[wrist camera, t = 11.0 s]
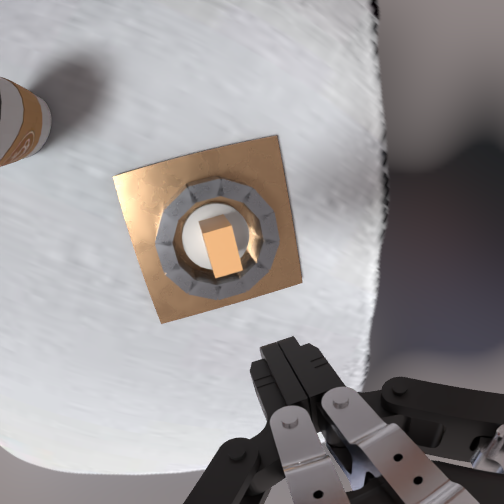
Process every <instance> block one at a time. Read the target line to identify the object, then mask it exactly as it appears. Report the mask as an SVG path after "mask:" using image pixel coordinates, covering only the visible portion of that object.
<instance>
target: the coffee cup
mask: <svg viewBox="0 0 504 504" xmlns="http://www.w3.org/2000/svg"><path fill="white" fill-rule="evenodd" d="M50 129H51V113H50V109H49V107H48V105H47V103H46V102H45V101H44V100H43V99H42V98H40V97H38V96H36V95H34V94H33V93H32V92H31V91H29V90H27V89H25V88H23V87H21V86H20V85H18V84H16V83H14V82H12V81H10V80H8V79H5V78H2V77H0V167H1V166H4V165H7V164H10V163H13V162H16V161H18V160H21V159H23V158H27V157H29V156H31V155H33V154H35V153H36V152H37V151H38V150H40V149H41V147H42V146H43V145H44V143H45V142H46V140H47V138H48V136H49V133H50Z"/></svg>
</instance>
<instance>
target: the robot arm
mask: <svg viewBox="0 0 504 504" xmlns="http://www.w3.org/2000/svg"><path fill="white" fill-rule="evenodd" d="M260 352H261V356H262V359H261V360H258V361H255V362H252V364H251V369H250V374H251V377H252V381H253V384H254V387H255V391H256V394H257V397H258V400H259V402H260V405H261V407H262V410H263V412H264V415H265V417H266V420H267V424H266V426H265V428H264V429H263V430H262V431H261V432H260V433H259V434H258V435H256V436H255V437H253V438H251V439H247V438H234V439H231V440H228V441H226V442H225V443H224V444H223V445H221V447H220V448H219V450H218V451H217V453H216V454H215V456H214V458H213V459H212V461H211V462H210V464H209V465H208V467H207V468H206V470H205V472H204V473H203V475H202V476H201V478H200V479H199V481H198V482H197V484H196V486H195V487H194V488H193V490H192V491H191V493H190V494H189V496H188V497H187V499H186V500H185V502H184V503H183V504H264V502H265V500H266V498H267V496H268V494H269V492H270V490H271V487H272V486H273V485H275V484H276V483H278V482H280V481H281V480H282V479H284V478H285V477H286V480H287V483H288V487H289V489H290V493H291V496H292V499H293V502H294V504H504V394H498V393H491V392H485V391H478V390H471V389H465V388H459V387H453V386H448V385H442V384H437V383H431V382H426V381H421V380H416V379H411V378H406V377H395V378H392V379H390V380H388V381H387V382H385V384H384V385H383V386H382V390H378V391H372V392H365V393H360V392H356V391H355V390H354V389H352V388H349V387H346V386H345V385H344V383H343V382H342V381H341V379H340V378H339V376H338V375H337V374H336V372H335V371H334V369H333V368H332V367H331V365H330V364H329V363H328V361H327V360H326V358H324V356H323V354H322V353H321V351H320V350H319V349H318V348H317V347H315V346H313V345H311V344H309V343H308V344H305V345H302V346H300V345H299V343H298V342H297V340H296V339H295V337H294V336H292V337H289V338H286V339H283V340H280V341H277V342H275V343H272V344H268V345H265V346H262V347H260ZM318 432H322V434H323V436H324V438H325V445H326V447H327V449H328V450H329V452H330V453H331V455H332V456H333V457H334V459H335V461H336V462H337V463H338V465H339V466H340V468H341V469H342V470H343V472H344V473H345V475H346V476H347V478H348V480H349V481H350V485H351V488H352V490H353V491H350V492H345V490H344V488H343V485H342V483H341V481H340V479H339V476H338V474H337V472H336V469H335V467H334V465H333V463H332V460H331V459H330V457H329V456H328V455H326V453H325V451H324V449H323V447H322V444H321V442H320V440H319V437H318V435H317V433H318ZM425 454H429V455H434V456H438V457H443V458H448V459H453V460H459V461H465V462H471V464H472V466H473V468H474V469H472V468H467V467H463V466H458V465H453V464H449V463H445V462H440V461H433V460H430V459H429V458H428V457H427V456H426V455H425Z"/></svg>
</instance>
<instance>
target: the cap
mask: <svg viewBox="0 0 504 504" xmlns="http://www.w3.org/2000/svg"><path fill="white" fill-rule="evenodd" d="M182 243H183V247H184V250H185V252H186V254H187V256H188V257H189V258H190V259H191V260H192V261H193V262H194V263H195V264H197V265H198V266H200V267H203V268H206V269H211V270H213V273H214V276H215V278H218V277H222V276H225V275H228V274H232V273H235V272H238V271H242V270H243V269H242V265H241V261H240V258H241V257H242V256H243V254H244V253H245V251H246V249H247V246H248V243H249V228H248V225H247V222H246V220H245V219H244V217H243V216H242V215H241V214H240V213H239V212H238V211H237V210H236V209H235V208H233V207H232V206H230V205H228V204H225V203H221V202H210V203H206V204H203V205H201V206H199V207H197V208H196V209H194V210H193V211H192V212H191V213H190V214H189V215H188V217H187V218H186V220H185V222H184V225H183V228H182Z"/></svg>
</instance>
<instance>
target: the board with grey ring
mask: <svg viewBox="0 0 504 504" xmlns="http://www.w3.org/2000/svg"><path fill="white" fill-rule="evenodd" d="M113 179H114V183H115V186H116V190H117V194H118V197H119V201H120V204H121V208H122V211H123V214H124V218H125V221H126V224H127V228H128V231H129V234H130V237H131V240H132V243H133V247H134V250H135V253H136V256H137V259H138V262H139V265H140V267H141V270H142V273H143V276H144V279H145V282H146V285H147V287H148V290H149V293H150V295H151V298H152V301H153V304H154V306H155V309H156V311H157V314H158V317H159V319H160V322H161V324H163V323H167V322H170V321H174V320H178V319H181V318H185V317H189V316H192V315H196V314H199V313H203V312H206V311H210V310H213V309H217V308H220V307H224V306H227V305H231V304H234V303H238V302H241V301H244V300H248V299H251V298H255V297H258V296H261V295H265V294H268V293H271V292H274V291H278V290H281V289H284V288H287V287H291V286H294V285H297V284H300V283H302V276H301V270H300V263H299V257H298V251H297V244H296V238H295V232H294V226H293V220H292V214H291V209H290V203H289V197H288V192H287V186H286V181H285V175H284V170H283V164H282V159H281V154H280V149H279V144H278V138H277V136H271V137H265V138H260V139H255V140H250V141H246V142H241V143H236V144H232V145H227V146H223V147H218V148H214V149H210V150H206V151H201V152H197V153H193V154H189V155H186V156H182V157H178V158H174V159H170V160H167V161H163V162H160V163H156V164H152V165H149V166H146V167H142V168H139V169H135V170H132V171H129V172H126V173H122V174H119V175H116V176H114V177H113ZM210 202H221V203H225V204H228V205H230V206H232V207H233V208H235V209H236V210H237V211H238V212H239V213H240V214H241V215H242V216H243V217H244V219H245V220H246V222H247V225H248V228H249V243H248V246H247V249H246V251H245V253H244V254H243V256H242V257H241V258H240V261H241V265H242V269H243V270H242V271H238V272H235V273H232V274H228V275H225V276H222V277H218V278H215V276H214V273H213V270H211V269H206V268H203V267H200V266H198V265H197V264H195V263H194V262H193V261H192V260H191V259H190V258H189V257H188V256H187V254H186V252H185V250H184V247H183V243H182V228H183V225H184V222H185V220H186V218H187V217H188V215H189V214H190V213H191V212H192V211H193V210H194V209H196V208H197V207H199V206H201V205H203V204H206V203H210Z"/></svg>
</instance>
